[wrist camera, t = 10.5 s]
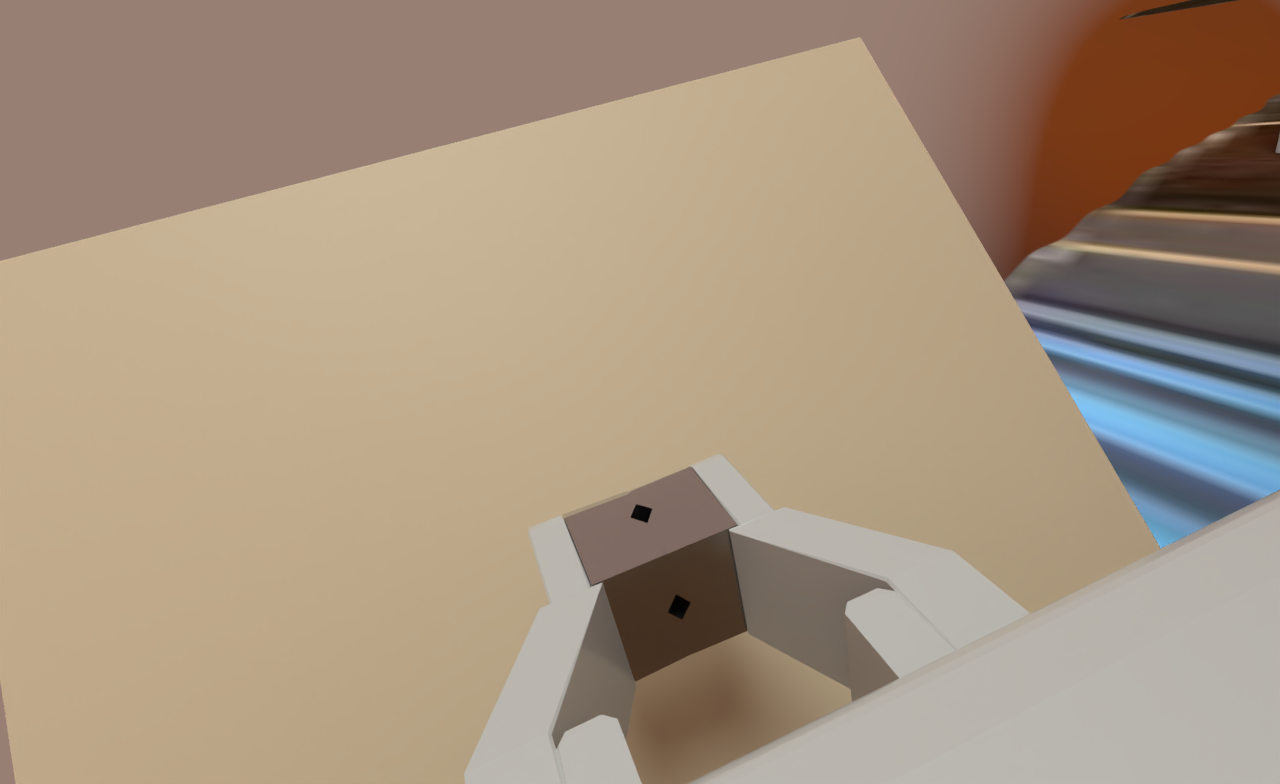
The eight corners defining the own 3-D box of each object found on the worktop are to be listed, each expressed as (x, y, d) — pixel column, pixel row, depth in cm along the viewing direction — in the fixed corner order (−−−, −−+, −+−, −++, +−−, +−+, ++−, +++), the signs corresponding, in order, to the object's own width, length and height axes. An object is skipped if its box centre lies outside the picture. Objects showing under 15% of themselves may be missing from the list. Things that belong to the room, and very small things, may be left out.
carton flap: (859, 37, 16) (849, 56, 16) (-60, 276, 12) (-31, 291, 12) (1218, 646, 12) (1189, 644, 13) (89, 1280, 8) (120, 1234, 9)
